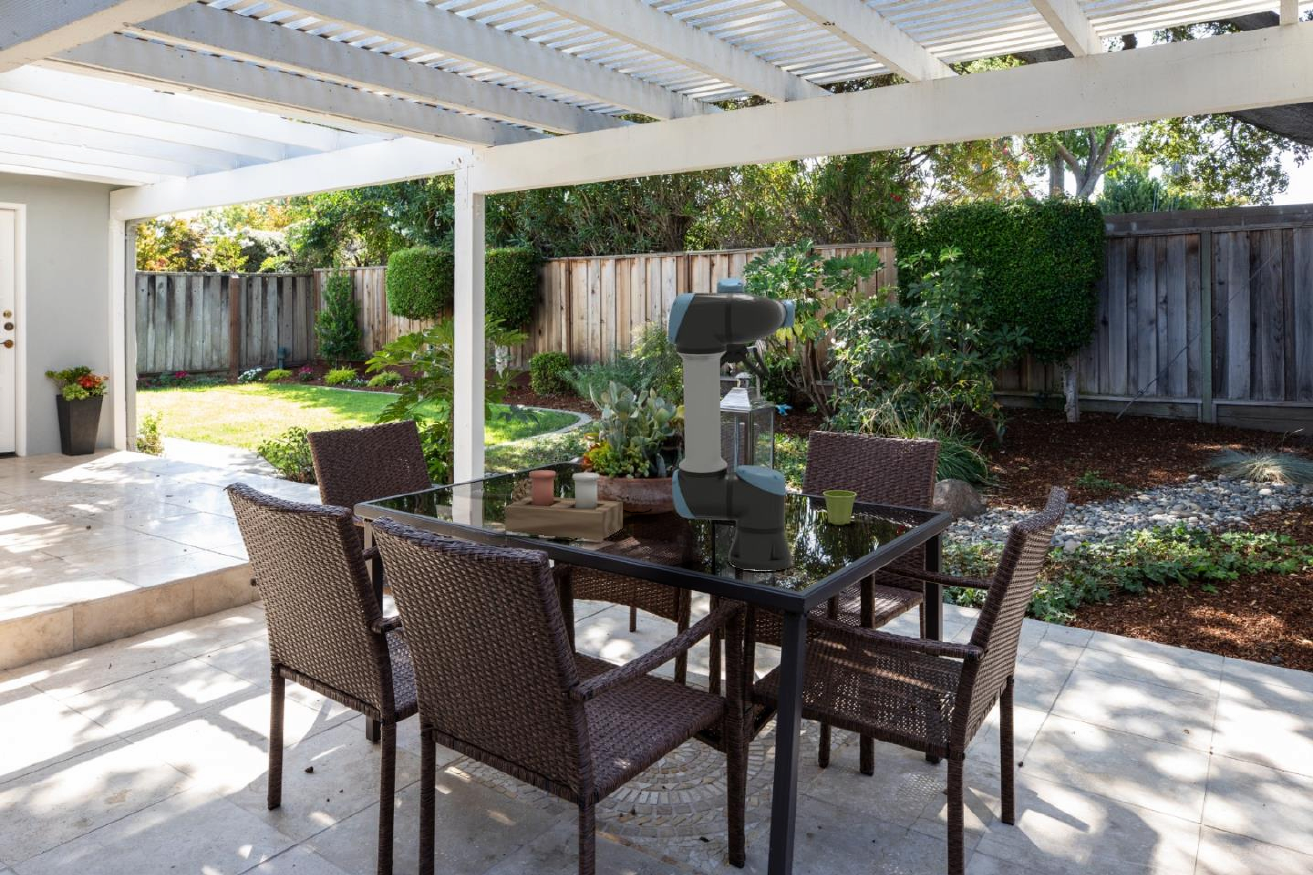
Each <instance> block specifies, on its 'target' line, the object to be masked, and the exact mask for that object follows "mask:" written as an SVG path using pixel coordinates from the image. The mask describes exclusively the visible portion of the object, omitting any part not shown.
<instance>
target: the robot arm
mask: <svg viewBox="0 0 1313 875" xmlns="http://www.w3.org/2000/svg"><path fill="white" fill-rule="evenodd" d="M744 286H745V285H744V281H743V280H742V279H740V278H736V277H726V278H722V279H720V280H718V281H717V284H716V292H696V291H695V292H688V293H687V292H685V293H680V294H678V295H677V296H676V297H675V298H674V300H673V302H672V305H671V309H670V313H669V319H668V328H667V335H668V342H669V344H672V345H675V353H676V354H677V355H678V356H679V357H680V358H681V359H682V370H683V371H682V377H683V378H682V379H683V417H684V418H683V419H684V423H683V424H684V458H683V459H682V460H681V461H680V462H679V463H678V469H676V470H674V472H673V474H672V478H671V484H672V485H671V491H672V492H671V494H672V499H673V500H672V501H673V504H674V508H675V510H676V512H677V514H678V515H679V516H680V517H682V518H686V519H694V520H713V521H714V520H717V521H720V520H721V521H735V534H734V538H733V540H732V543H731V546H730V548H729V552H728V555H727V556H728V558H727V559H728V560H727V562H728V561H729V562H730V563H731V564H732V565H734V566H736V567H740V568H743V569H755V570H779V569H785V570H787V568H788V569H790V568H791V567H792V564H793V562H792V561H793V557H792V553H791V549H790V545H789V543H788V539H787V537H786V528H785V527H786V495H787V490H786V477H785V475H783V473H781V472H780V471H778V470H776V469H773V468H769V467H765V466H760V465H745V464H744V465H742V464H741V465H738V466H737V467H736V469H735V471H728V462H727V461H725V460H724V459H723V457H722V447H721V446H722V445H721V443H722V441H721V440H722V439H721V438H722V437H721V436H722V433H721V432H722V431H721V428H722V427H721V425H722V424H721V368H722V367H724V365H726V363H728V364H734V363H735V364H740V363H741V362H742V363H743V364H744V365H745V366H747V367H748V368H749V369H750V370H751V371H752V372H753V373H754V374H755V378H756V380H755V381H756V399H757V400H761V392H760V390H761V388H764V378H765V377H769V376H770V371H769V368H768V366H767V365H766V363H765V362H764V360H763V358H762V356H761V355H760V353H759V351H758V346H757V345H756V344H752V346H747V344H748V343H753V342H757V341H761V340H763V339H766V338H768V337H770V336H772V335H774V334H776V332H777V331H778V330H779V329H785V328H789V329H790V328H794V326H795V321H796V319H795V318H796V303H795V301H794V300H792V299H785V298H781V299H772V298H769V297H767V296H762V295H756V294H753V293H746V291H745V287H744ZM748 353H750V355H753V356H754V359H755V361H756V362H757V364H758V365H759V367H758V366H757V365H756V364H754V363H753V361H752V360H751V359H750V358H749V357H748V356H747V354H748ZM790 566H791V567H790Z"/></svg>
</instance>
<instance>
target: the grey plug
mask: <svg viewBox="0 0 1313 875" xmlns="http://www.w3.org/2000/svg"><path fill="white" fill-rule="evenodd" d="M572 480H573V481H574V499H575V508H580V509H596V508H597V500H598V480H600V474H599V473H596V472H577V473H576V472H575V473H573V474H572Z"/></svg>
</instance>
